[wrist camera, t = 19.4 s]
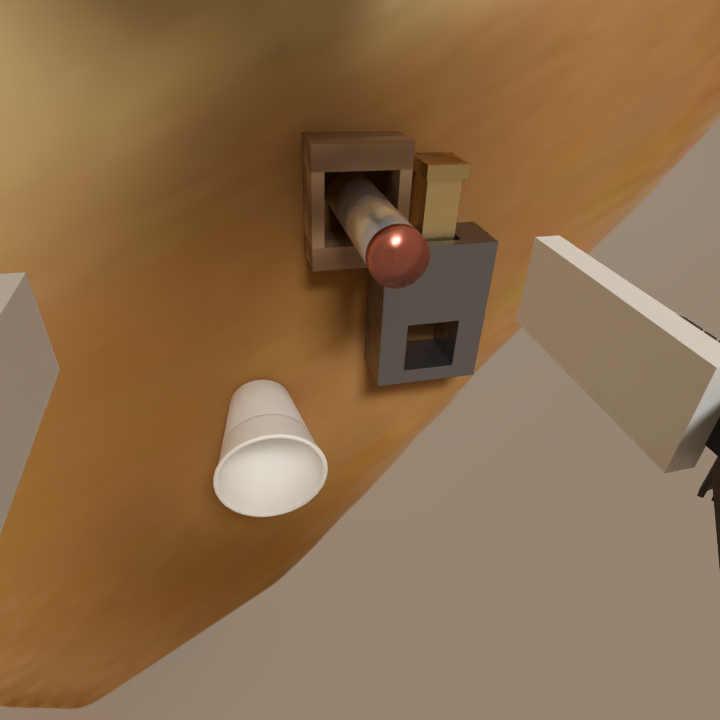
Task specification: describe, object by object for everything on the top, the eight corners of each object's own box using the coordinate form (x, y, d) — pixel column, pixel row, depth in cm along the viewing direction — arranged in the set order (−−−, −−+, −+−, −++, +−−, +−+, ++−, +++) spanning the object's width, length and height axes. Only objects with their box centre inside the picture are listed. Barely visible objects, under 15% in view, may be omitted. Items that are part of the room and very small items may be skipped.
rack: (302, 132, 42) (310, 144, 39) (399, 131, 44) (415, 142, 40) (304, 252, 47) (312, 271, 44) (390, 247, 49) (404, 264, 46)
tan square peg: (411, 153, 45) (428, 165, 41) (451, 152, 45) (470, 164, 42) (401, 273, 51) (414, 292, 48) (436, 271, 52) (452, 289, 48)
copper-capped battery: (326, 170, 44) (370, 230, 33) (374, 169, 45) (433, 227, 34) (326, 219, 46) (367, 291, 35) (372, 216, 47) (426, 286, 36)
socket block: (370, 227, 48) (387, 248, 44) (474, 222, 50) (498, 241, 46) (364, 358, 55) (377, 386, 51) (453, 348, 58) (473, 374, 54)
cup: (322, 374, 55) (346, 446, 46) (286, 445, 59) (302, 523, 51) (229, 350, 51) (236, 425, 42) (197, 428, 55) (197, 510, 46)
